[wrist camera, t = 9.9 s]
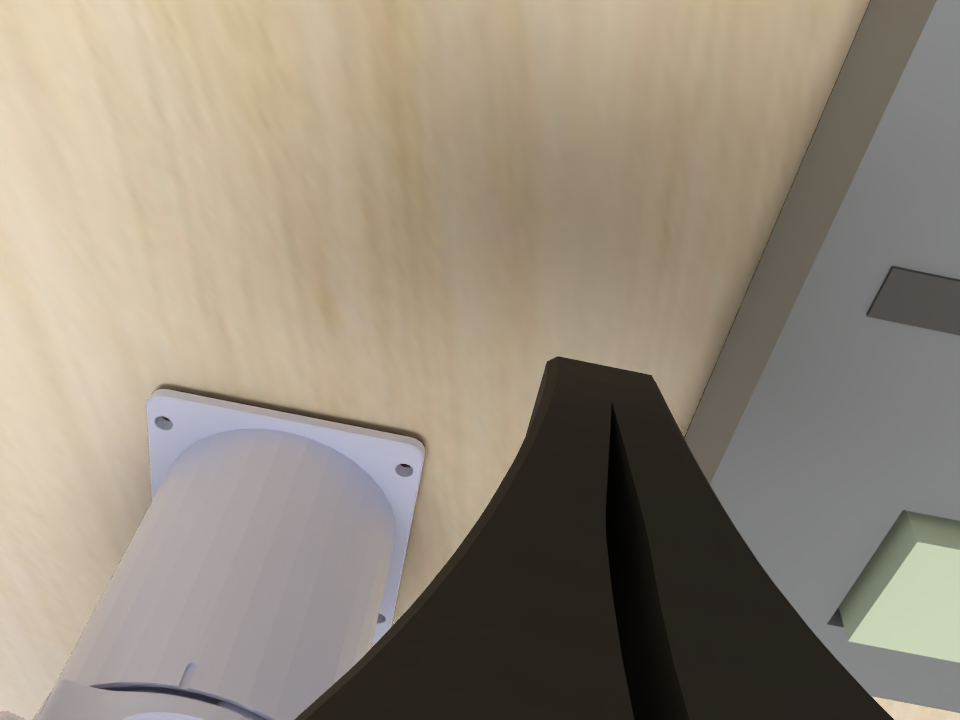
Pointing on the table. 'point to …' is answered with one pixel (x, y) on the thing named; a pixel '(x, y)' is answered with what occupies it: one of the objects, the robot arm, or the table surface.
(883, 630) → the sage button
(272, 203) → the table surface
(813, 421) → the switch panel
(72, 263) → the table surface
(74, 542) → the table surface
